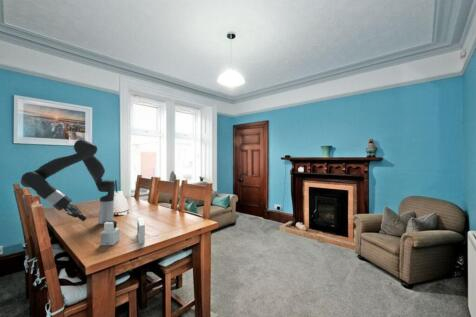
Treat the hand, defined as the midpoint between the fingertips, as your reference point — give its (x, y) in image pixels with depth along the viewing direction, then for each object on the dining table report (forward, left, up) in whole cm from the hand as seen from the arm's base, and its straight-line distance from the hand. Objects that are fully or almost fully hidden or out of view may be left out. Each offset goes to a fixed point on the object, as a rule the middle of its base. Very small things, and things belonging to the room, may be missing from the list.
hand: (85, 219), depth 123 cm
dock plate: (+27, +10, -16) cm, 33 cm away
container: (+12, +4, -16) cm, 20 cm away
